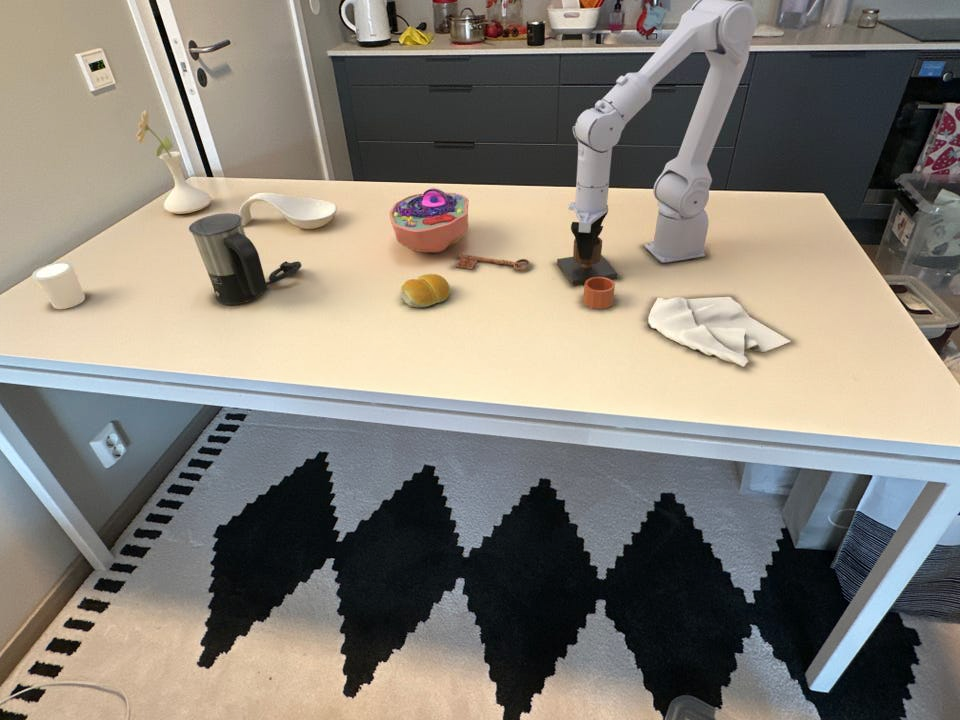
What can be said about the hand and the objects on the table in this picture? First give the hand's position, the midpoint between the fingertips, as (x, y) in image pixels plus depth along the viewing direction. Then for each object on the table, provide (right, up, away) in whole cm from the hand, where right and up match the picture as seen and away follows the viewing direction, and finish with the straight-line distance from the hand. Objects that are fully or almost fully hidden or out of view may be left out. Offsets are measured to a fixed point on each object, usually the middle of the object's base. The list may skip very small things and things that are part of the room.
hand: (587, 251), depth 111 cm
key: (-18, -2, +6) cm, 19 cm away
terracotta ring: (+1, -10, -6) cm, 12 cm away
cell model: (-31, +4, +15) cm, 35 cm away
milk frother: (-64, -6, +4) cm, 65 cm away
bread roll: (-31, -9, -2) cm, 32 cm away
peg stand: (0, -3, +3) cm, 4 cm away
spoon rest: (-66, +11, +27) cm, 72 cm away
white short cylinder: (-102, -9, +3) cm, 102 cm away
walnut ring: (0, -1, +1) cm, 1 cm away
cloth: (+19, -16, -15) cm, 29 cm away
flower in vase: (-95, +17, +37) cm, 104 cm away
